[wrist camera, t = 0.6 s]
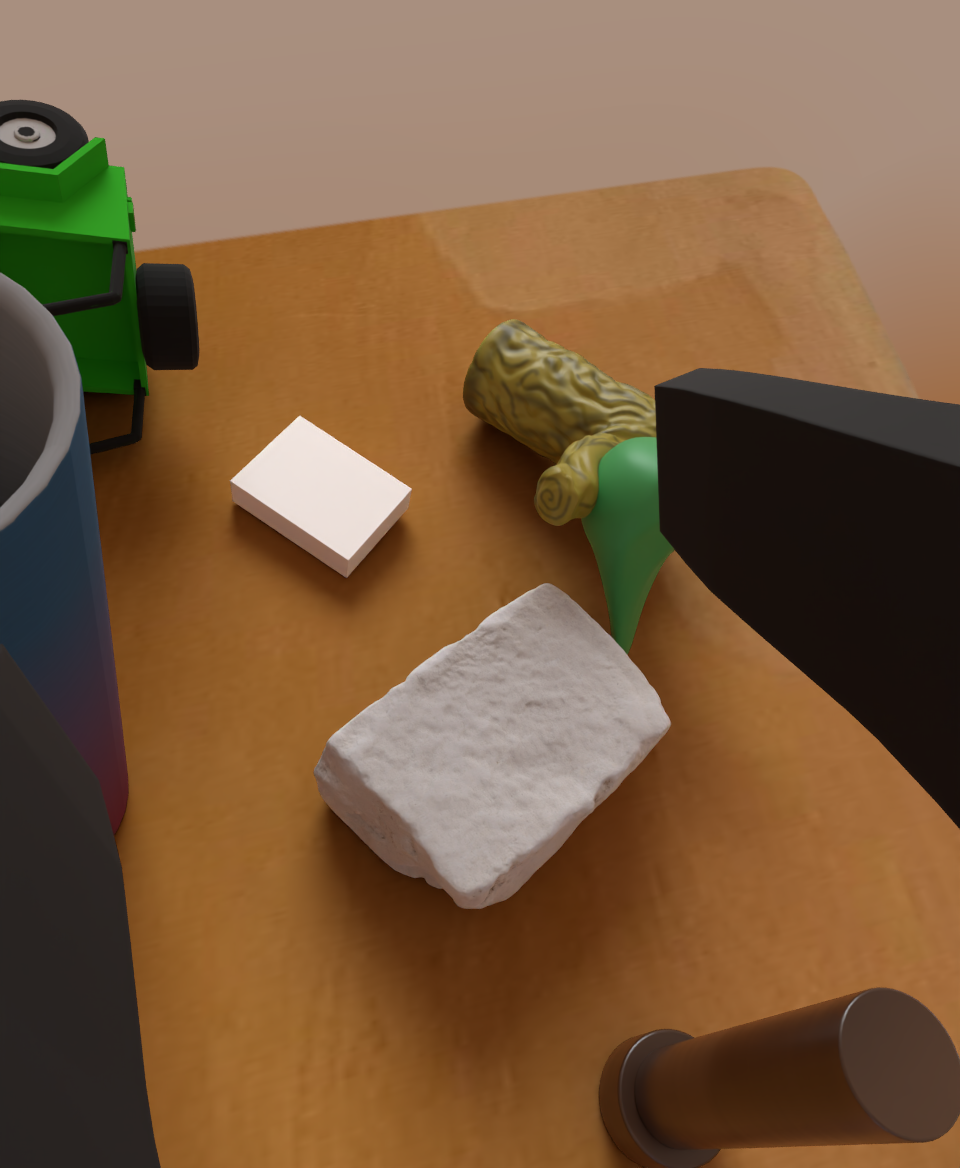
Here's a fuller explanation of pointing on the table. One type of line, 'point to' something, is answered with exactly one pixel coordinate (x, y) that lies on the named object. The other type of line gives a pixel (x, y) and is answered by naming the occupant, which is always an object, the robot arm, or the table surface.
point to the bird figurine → (580, 455)
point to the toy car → (89, 257)
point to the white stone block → (494, 749)
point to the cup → (55, 541)
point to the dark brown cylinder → (785, 1082)
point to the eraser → (321, 495)
